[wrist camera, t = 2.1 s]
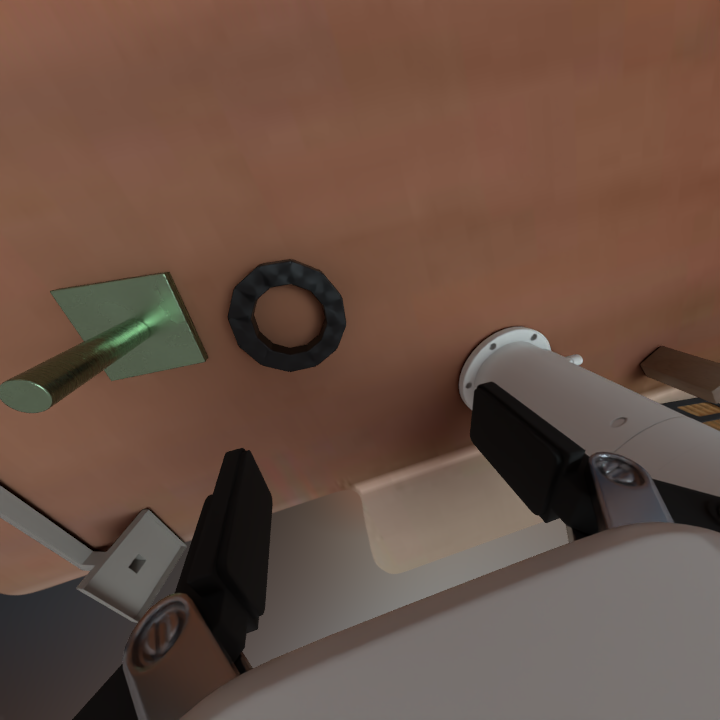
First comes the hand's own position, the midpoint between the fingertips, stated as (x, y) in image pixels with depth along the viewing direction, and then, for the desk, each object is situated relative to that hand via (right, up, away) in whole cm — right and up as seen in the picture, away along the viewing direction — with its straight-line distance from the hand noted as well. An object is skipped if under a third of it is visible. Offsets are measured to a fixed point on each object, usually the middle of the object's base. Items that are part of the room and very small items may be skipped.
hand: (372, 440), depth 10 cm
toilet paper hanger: (-32, -14, +19) cm, 39 cm away
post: (-20, +6, +12) cm, 24 cm away
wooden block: (+45, +3, +29) cm, 54 cm away
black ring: (-7, +8, +14) cm, 18 cm away
